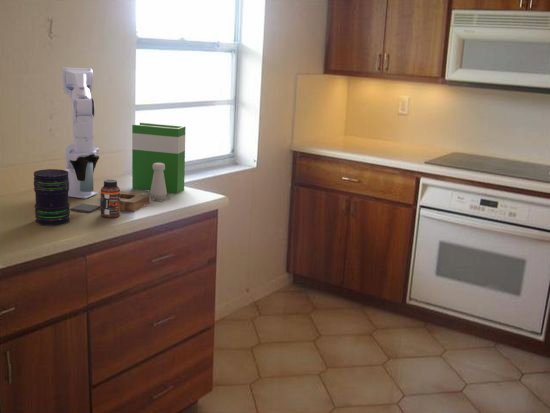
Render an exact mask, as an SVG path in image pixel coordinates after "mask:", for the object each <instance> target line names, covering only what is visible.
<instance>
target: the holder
mask: <svg viewBox="0 0 550 413" xmlns="http://www.w3.org/2000/svg"><path fill="white" fill-rule="evenodd" d="M99 199H100V200H99V202H100V203H99V204H100V205H99V206H101V197H100V198H99ZM150 203H151V194H148V193H147V194H146V193H139V192H131V191H123V190H120V211H125V212H133V213H134V212H136V211H138V210H140V209H141V208H143V207H145V206H147V205H149V204H150Z"/></svg>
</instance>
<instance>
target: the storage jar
mask: <svg viewBox="0 0 550 413" xmlns="http://www.w3.org/2000/svg"><path fill="white" fill-rule="evenodd" d="M65 170H66V169H65ZM65 170H64V169H56V168H53V169H51V168H49V169H40V170H36V171H33V176H34V177H33V190H34V194H35V195H34V196H35V203H34V214H35V218H36V219H35V223H36V224H37V225H39V226H45V227H49V226H50V227H57V226H62V225H66V224H68V223H70V221H71V220H70V219H71V218H70V213H71V210H70V208H71V207H70V206H71V205H70V202H69V196H68V191H69V177H68V171H65Z"/></svg>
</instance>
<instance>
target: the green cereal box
mask: <svg viewBox="0 0 550 413" xmlns="http://www.w3.org/2000/svg"><path fill="white" fill-rule="evenodd" d="M131 126H132V127H131V129H132V130H131V133H132V134H131V135H132V136H131V137H132V140H131V141H132V142H131V144H132V145H131V147H132V148H131V149H132V150H131V152H132V155H131V156H132V157H131V159H132V162H131V164H132V165H131V169H132V171H131V175H132V180H131V181H132V183H131V184H132V186H131V187H132V188H131V190H136V191H137V190H138V191H144V190H149V191H148V192H150V191H151V185H152V180H153V175H154V170H153V164H154V163H164V164H165V170H163V172H164V178H165V185H166V191H167V194H172V193H173V194H172V195H178V194H180V193H181V192H183V191H184V190H185V175H186V174H185V173H186V172H185V170H186V169H185V167H186V162H185V161H186V160H185V159H186V126H182V125H174V124H163V123H162V124H161V123H150V122H149V123H148V122H139V124H132V125H131Z"/></svg>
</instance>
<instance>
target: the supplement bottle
mask: <svg viewBox="0 0 550 413" xmlns="http://www.w3.org/2000/svg"><path fill="white" fill-rule="evenodd" d="M120 191H121V188H120V187H119V186H118V180H117V179H105V180H103V186H102V187H101V188H100V198H101V208H100V216H102V217H104V218H110V219H112V218H117V217H119V216H120V214H121V210H120Z"/></svg>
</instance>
